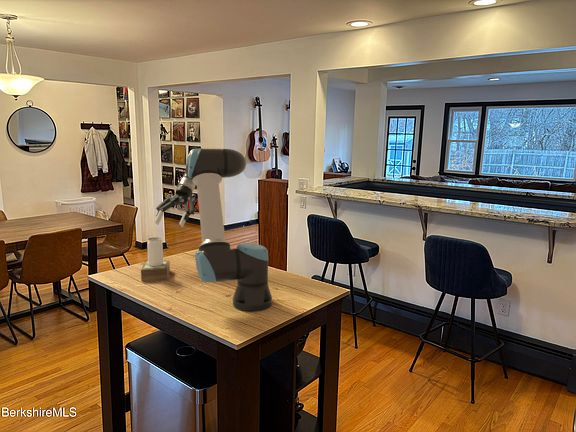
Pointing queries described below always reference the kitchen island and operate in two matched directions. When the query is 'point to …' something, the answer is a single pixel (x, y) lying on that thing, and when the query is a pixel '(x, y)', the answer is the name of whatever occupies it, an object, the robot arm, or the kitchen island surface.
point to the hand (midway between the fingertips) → (168, 224)
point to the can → (155, 251)
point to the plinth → (155, 271)
